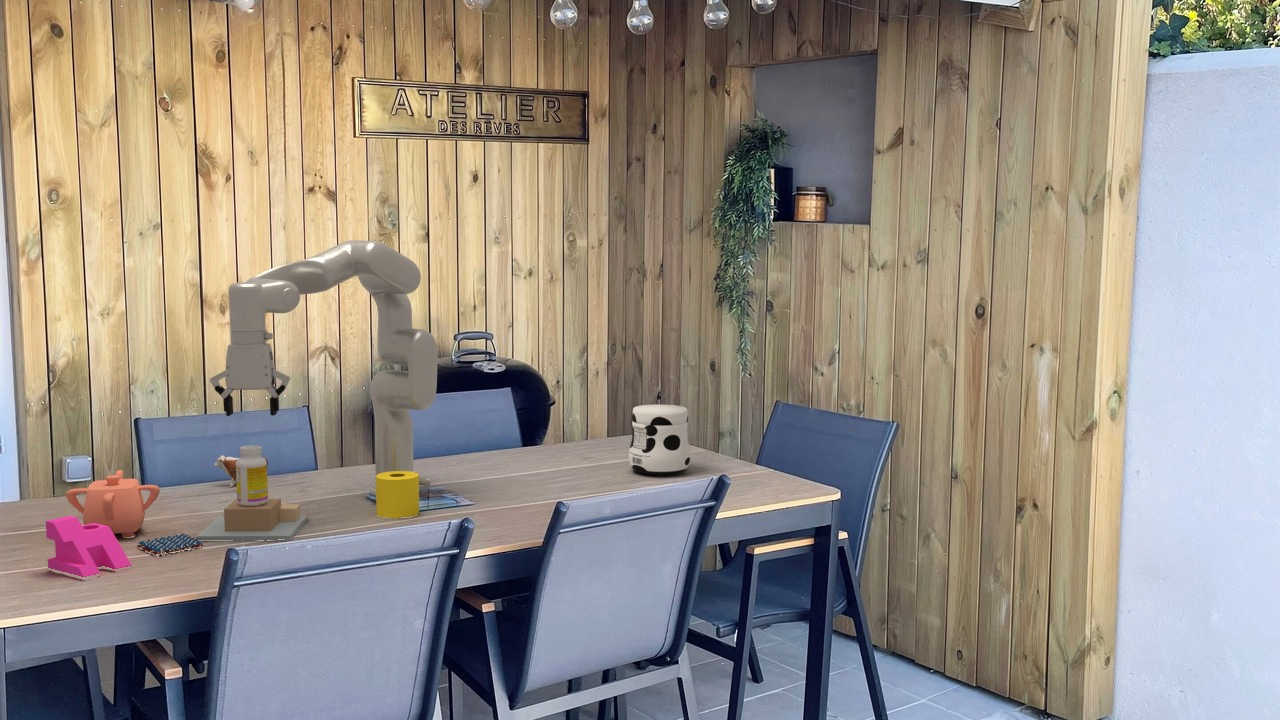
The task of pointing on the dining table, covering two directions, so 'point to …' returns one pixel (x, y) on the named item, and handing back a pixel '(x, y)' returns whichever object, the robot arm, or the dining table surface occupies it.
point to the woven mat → (169, 544)
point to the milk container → (659, 439)
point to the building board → (249, 535)
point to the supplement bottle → (251, 477)
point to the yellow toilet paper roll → (397, 494)
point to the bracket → (83, 547)
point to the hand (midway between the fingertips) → (251, 414)
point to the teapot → (114, 503)
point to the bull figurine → (229, 467)
